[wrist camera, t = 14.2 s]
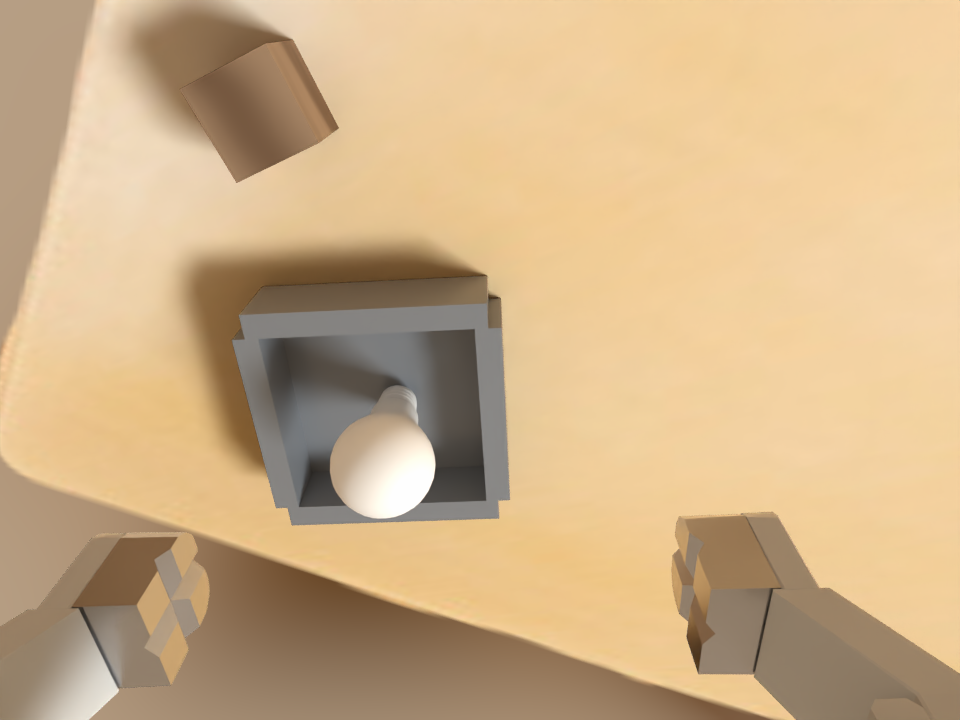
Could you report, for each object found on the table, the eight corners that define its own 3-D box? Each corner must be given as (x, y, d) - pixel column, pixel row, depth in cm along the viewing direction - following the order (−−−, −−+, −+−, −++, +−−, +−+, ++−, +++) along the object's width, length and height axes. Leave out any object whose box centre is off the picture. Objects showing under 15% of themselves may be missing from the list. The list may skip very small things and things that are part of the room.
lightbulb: (423, 443, 47) (405, 555, 37) (343, 412, 46) (304, 519, 36) (458, 377, 45) (448, 478, 35) (374, 342, 43) (340, 437, 34)
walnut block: (293, 39, 36) (265, 43, 31) (338, 127, 38) (318, 142, 33) (217, 80, 37) (179, 89, 32) (265, 163, 39) (236, 182, 34)
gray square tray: (499, 275, 42) (500, 302, 38) (509, 477, 49) (510, 518, 45) (250, 287, 42) (225, 315, 38) (297, 484, 50) (280, 525, 46)
